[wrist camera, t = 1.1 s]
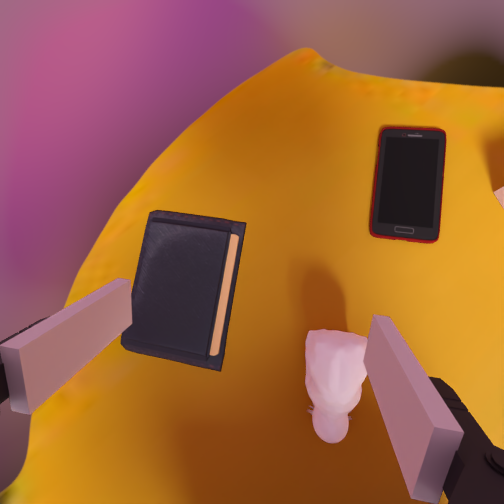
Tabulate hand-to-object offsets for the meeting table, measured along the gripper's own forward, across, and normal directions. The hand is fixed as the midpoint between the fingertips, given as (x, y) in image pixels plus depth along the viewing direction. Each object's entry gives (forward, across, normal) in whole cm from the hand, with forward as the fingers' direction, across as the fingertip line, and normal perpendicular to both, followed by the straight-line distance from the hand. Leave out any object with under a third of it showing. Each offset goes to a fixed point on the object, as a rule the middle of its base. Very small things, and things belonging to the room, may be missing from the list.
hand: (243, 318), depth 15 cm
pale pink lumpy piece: (+16, -8, +15) cm, 24 cm away
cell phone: (+26, -16, -8) cm, 31 cm away
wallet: (+21, +12, +8) cm, 26 cm away
